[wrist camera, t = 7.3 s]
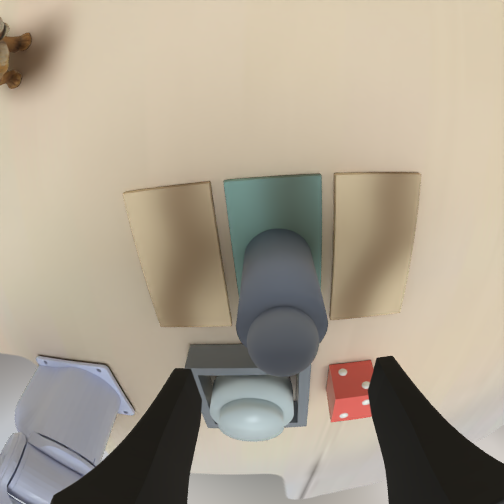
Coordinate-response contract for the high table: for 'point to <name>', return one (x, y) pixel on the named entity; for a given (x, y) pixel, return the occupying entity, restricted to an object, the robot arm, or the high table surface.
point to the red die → (349, 390)
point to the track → (275, 217)
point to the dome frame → (237, 363)
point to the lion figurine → (3, 45)
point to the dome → (252, 406)
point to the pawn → (280, 303)
